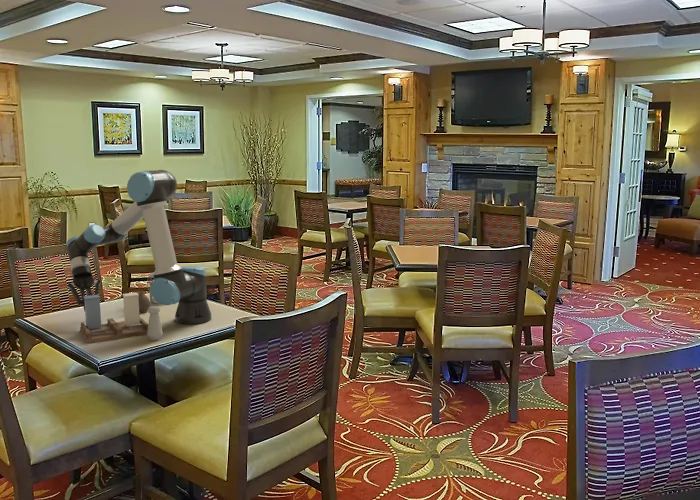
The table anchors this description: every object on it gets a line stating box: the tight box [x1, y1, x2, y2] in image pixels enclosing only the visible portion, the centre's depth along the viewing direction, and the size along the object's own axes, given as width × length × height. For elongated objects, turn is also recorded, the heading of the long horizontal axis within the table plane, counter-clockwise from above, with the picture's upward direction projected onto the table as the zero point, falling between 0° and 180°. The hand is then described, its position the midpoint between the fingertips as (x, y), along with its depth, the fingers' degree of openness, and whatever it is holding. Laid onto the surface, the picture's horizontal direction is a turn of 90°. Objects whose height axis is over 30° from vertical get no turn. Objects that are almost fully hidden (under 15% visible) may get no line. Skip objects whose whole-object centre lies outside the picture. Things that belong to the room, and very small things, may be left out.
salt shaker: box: [146, 306, 164, 342], centre depth 240 cm, size 6×6×13 cm
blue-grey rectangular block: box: [84, 294, 102, 330], centre depth 248 cm, size 4×5×13 cm
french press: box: [146, 271, 164, 307], centre depth 292 cm, size 10×12×25 cm
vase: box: [137, 291, 150, 314], centre depth 279 cm, size 7×7×9 cm
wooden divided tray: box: [80, 315, 149, 344], centre depth 249 cm, size 18×23×4 cm
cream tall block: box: [122, 291, 141, 327], centre depth 252 cm, size 4×5×13 cm
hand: (91, 317), depth 252 cm, fingers closed
